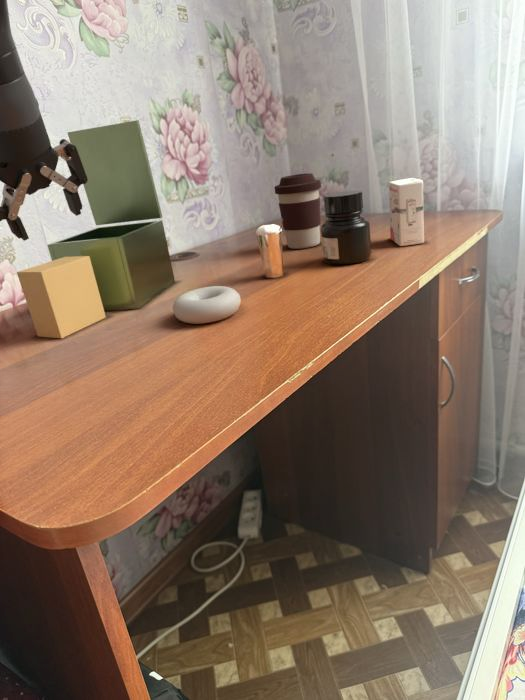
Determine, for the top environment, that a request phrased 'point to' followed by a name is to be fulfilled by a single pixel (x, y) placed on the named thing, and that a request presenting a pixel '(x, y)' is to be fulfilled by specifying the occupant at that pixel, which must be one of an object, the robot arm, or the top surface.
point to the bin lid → (117, 173)
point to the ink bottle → (345, 229)
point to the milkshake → (271, 249)
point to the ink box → (406, 211)
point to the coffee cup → (300, 209)
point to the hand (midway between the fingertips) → (50, 224)
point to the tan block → (62, 296)
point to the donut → (206, 304)
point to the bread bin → (123, 261)
